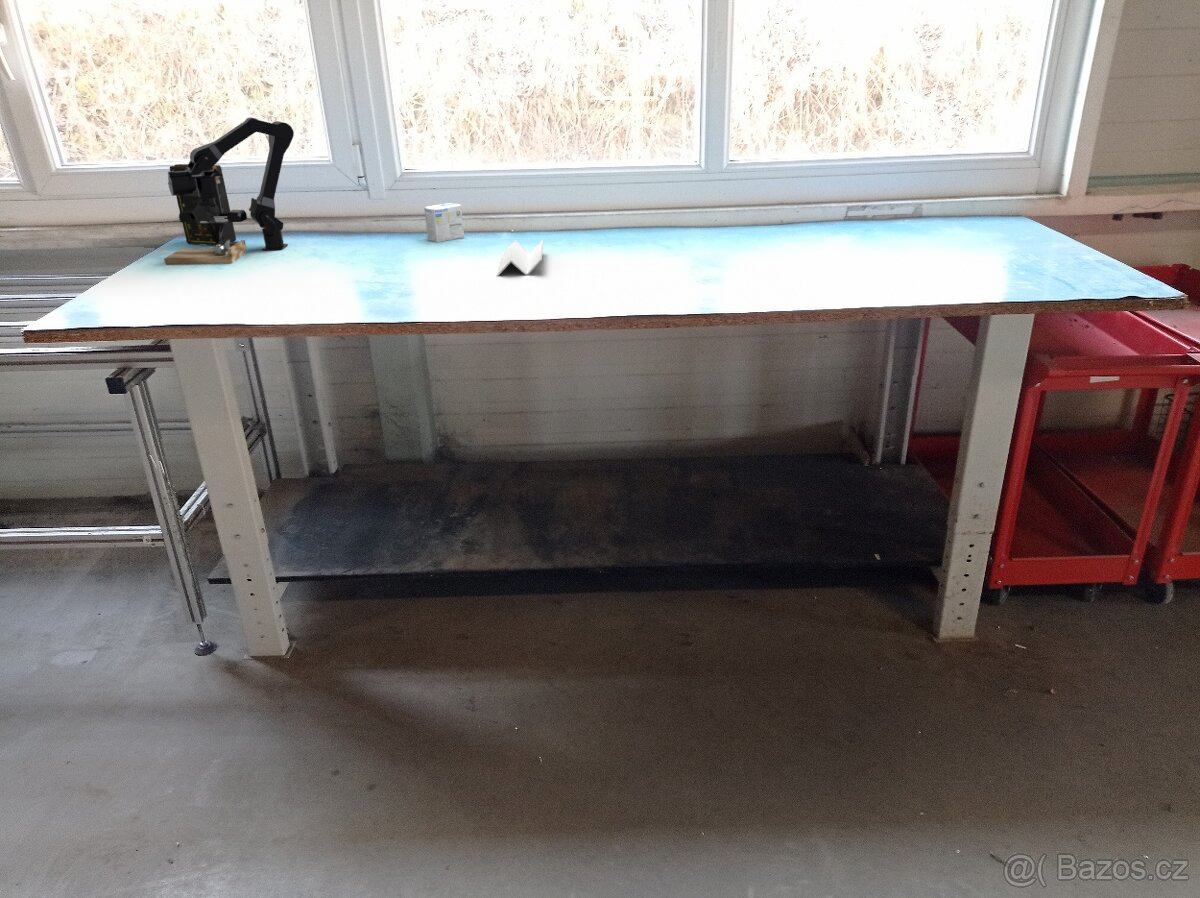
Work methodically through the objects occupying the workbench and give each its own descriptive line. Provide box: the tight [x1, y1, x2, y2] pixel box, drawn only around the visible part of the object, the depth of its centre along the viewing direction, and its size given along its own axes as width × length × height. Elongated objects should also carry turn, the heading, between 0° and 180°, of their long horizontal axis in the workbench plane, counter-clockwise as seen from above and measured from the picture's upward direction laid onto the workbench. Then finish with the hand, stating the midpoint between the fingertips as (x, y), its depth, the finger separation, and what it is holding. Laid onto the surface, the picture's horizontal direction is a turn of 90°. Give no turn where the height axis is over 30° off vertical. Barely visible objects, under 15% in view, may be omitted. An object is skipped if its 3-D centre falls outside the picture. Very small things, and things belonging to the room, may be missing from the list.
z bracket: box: [496, 239, 545, 277], centre depth 249 cm, size 12×25×6 cm
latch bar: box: [212, 239, 230, 255], centre depth 261 cm, size 11×3×3 cm, turn 9°
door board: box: [163, 239, 247, 266], centre depth 262 cm, size 12×20×4 cm, turn 91°
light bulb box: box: [423, 202, 465, 243], centre depth 280 cm, size 11×7×11 cm, turn 130°
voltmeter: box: [169, 163, 237, 246], centre depth 278 cm, size 16×9×25 cm, turn 73°
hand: (218, 244), depth 264 cm, fingers closed
